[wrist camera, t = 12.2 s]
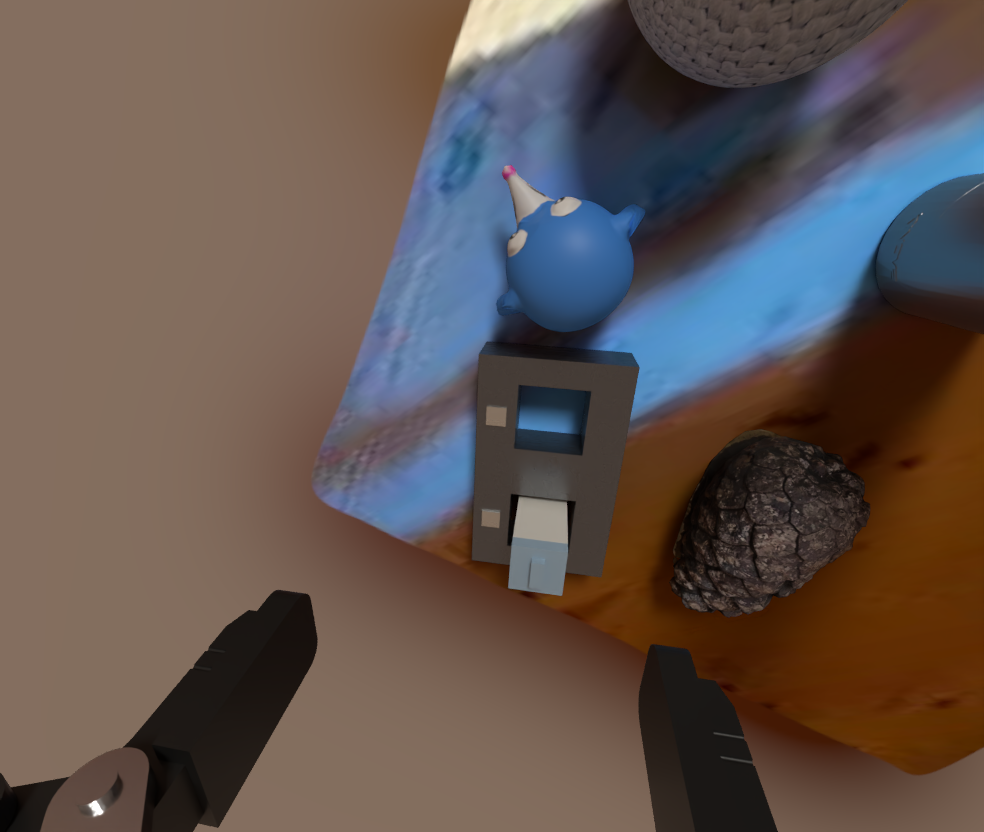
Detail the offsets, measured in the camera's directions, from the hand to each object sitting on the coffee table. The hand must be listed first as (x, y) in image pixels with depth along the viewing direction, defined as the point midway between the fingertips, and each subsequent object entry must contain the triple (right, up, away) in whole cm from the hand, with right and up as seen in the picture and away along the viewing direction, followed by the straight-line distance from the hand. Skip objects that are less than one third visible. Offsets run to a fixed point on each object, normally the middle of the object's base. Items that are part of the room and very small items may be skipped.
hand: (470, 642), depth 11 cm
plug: (+5, -3, +33) cm, 34 cm away
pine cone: (+23, -3, +31) cm, 39 cm away
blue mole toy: (+5, +19, +24) cm, 31 cm away
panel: (+6, +2, +31) cm, 32 cm away
